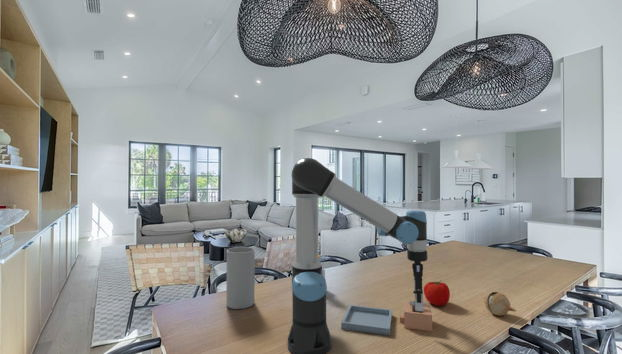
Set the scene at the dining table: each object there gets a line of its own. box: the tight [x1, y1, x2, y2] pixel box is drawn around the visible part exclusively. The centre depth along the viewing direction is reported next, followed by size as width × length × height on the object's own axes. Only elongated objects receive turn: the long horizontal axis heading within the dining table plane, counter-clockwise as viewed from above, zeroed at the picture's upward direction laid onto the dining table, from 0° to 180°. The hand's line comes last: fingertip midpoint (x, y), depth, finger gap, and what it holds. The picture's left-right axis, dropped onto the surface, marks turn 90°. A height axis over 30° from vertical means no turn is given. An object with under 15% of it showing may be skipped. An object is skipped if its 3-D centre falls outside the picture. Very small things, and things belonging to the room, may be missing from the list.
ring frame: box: [399, 301, 433, 332], centre depth 123 cm, size 10×12×6 cm
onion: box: [483, 291, 517, 317], centre depth 131 cm, size 9×9×15 cm
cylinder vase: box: [225, 246, 255, 310], centre depth 143 cm, size 12×12×25 cm
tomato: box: [423, 279, 451, 307], centre depth 143 cm, size 11×13×10 cm
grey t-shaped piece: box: [409, 300, 427, 313], centre depth 123 cm, size 3×6×8 cm, turn 73°
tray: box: [340, 304, 393, 336], centre depth 125 cm, size 18×18×2 cm
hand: (418, 303), depth 123 cm, fingers open, 13 cm apart
